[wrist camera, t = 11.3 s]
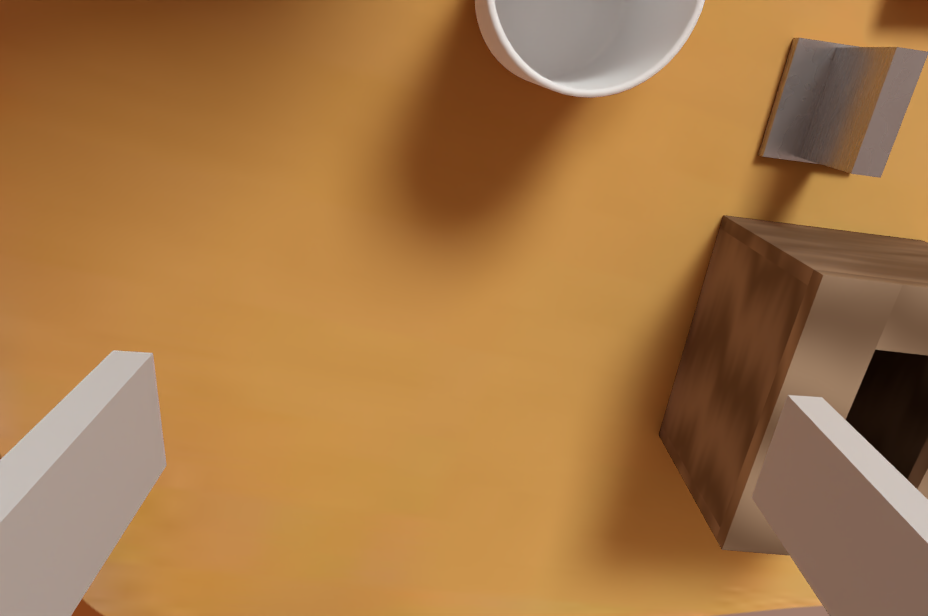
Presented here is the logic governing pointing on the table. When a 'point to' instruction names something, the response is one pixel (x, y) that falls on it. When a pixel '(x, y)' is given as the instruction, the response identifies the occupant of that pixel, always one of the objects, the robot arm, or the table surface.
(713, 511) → the coin box
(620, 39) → the white rounded piece
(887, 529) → the robot arm
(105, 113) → the table surface
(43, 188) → the table surface
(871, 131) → the stand
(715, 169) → the table surface
